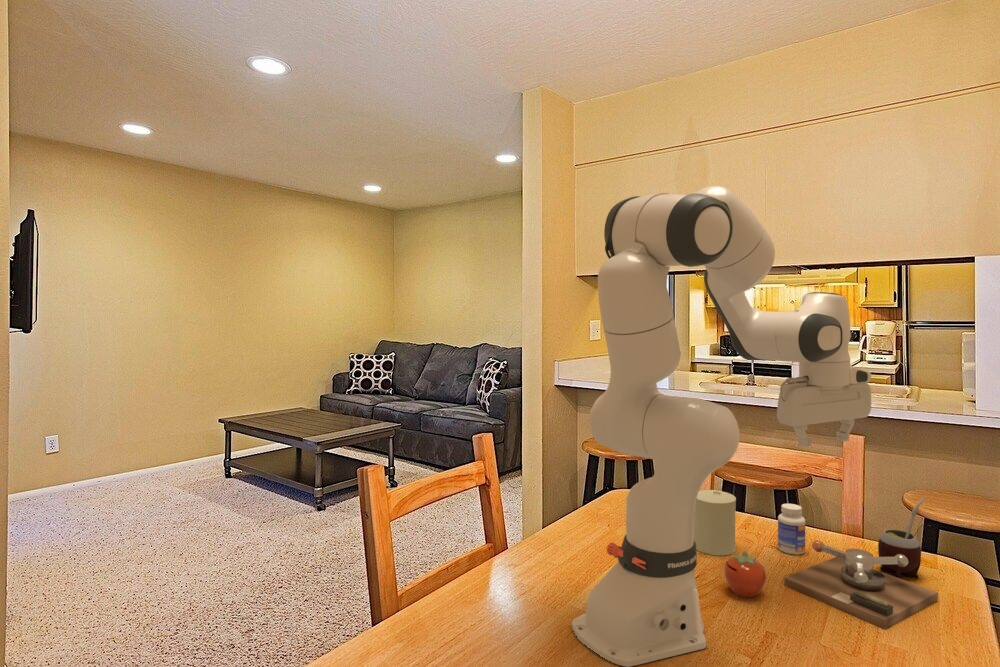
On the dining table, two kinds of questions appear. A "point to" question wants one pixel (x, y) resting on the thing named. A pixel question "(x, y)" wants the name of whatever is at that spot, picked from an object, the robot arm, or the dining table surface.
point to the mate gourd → (901, 549)
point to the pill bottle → (791, 529)
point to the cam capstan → (861, 566)
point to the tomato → (745, 575)
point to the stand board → (862, 594)
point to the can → (715, 522)
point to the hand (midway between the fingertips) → (824, 443)
